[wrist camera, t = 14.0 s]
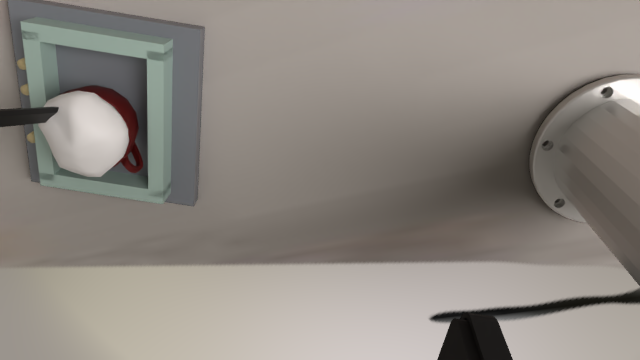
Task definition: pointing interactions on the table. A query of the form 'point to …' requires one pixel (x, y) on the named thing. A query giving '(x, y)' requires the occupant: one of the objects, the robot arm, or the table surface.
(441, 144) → the table surface
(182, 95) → the holder board
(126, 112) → the cocoa
